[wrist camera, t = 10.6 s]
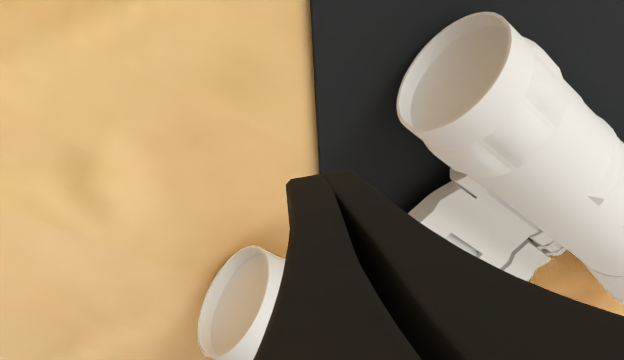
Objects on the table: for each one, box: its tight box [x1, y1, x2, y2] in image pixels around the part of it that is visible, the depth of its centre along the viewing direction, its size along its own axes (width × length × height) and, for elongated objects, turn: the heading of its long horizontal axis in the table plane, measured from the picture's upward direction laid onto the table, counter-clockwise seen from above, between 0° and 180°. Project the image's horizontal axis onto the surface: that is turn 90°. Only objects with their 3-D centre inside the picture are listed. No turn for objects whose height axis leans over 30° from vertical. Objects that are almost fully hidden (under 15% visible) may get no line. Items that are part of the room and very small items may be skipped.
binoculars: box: [197, 12, 624, 360], centre depth 25 cm, size 17×5×18 cm
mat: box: [310, 0, 624, 241], centre depth 22 cm, size 22×23×1 cm
